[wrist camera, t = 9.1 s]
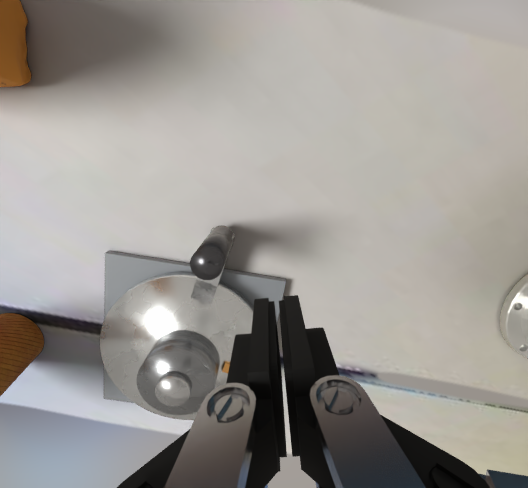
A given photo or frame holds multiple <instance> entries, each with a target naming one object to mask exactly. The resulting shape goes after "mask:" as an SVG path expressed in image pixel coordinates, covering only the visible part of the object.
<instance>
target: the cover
mask: <svg viewBox="0 0 528 488" xmlns="http://www.w3.org/2000/svg"><path fill="white" fill-rule="evenodd" d="M219 366H220V357H219V353H218V351H217V349H216V347H215V346H214V344H213V343H212V342H211V341H210V340H209V339H207V338H206V337H205V336H203V335H201V334H199V333H196V332H193V331H188V330H177V331H172V332H169V333H167V334H165V335H163V336H162V337H160V338H159V339H158V340H157V341H156V343H155V344H154V346H153V347H152V349H151V350H150V352H149V354H148V355H147V357H146V359H145V360H144V362H143V364H142V365H141V367H140V369H139V371H138V374H137V388H138V391H139V393H140V395H141V396H142V398H143V399H144V400H145V401H146V402H147V403H148V404H149V405H150V406H151V407H153V408H154V409H156V410H158V411H161V412H163V413H166V414H171V415H187V414H192V413H194V412H197V411H199V409H200V406H201V404H202V402H203V400H204V399H205V397H206V396H207V395H208V394H209V393H210V392H211V391H212V390H213V389H214V388H215V384H216V380H217V375H218V371H219Z"/></svg>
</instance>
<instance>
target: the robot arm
mask: <svg viewBox="0 0 528 488" xmlns="http://www.w3.org/2000/svg"><path fill="white" fill-rule="evenodd" d="M279 310H280V323H281V335H282V348H283V360H284V372H285V383H286V393H287V403H288V414H289V424H290V434H291V445H292V455H293V456H300V461H301V469H302V470H303V471H304V472H305V473H306V474H308V475H309V476H310V477H311V478H312V479H313V480H314V481H315V482H316V487H317V488H528V476H524V475H518V474H511V473H505V472H499V471H493V470H487V472H486V475H482V474H478V473H477V472H476V471H475V470H474V469H472V468H471V467H469V466H468V465H467V464H465V463H464V462H462V461H461V460H459V459H457V458H455V457H454V456H452V455H450V454H448V453H447V452H445V451H443V450H441V449H440V448H438V447H436V446H434V445H433V444H431V443H429V442H427V441H426V440H424V439H422V438H420V437H419V436H417V435H415V434H413V433H412V432H410V431H408V430H406V429H405V428H403V427H401V426H399V425H398V424H396V423H394V422H392V421H390V420H389V419H387V418H385V417H383V416H382V415H380V414H379V412H378V411H377V409H376V407H375V406H374V404H373V403H372V401H371V400H370V398H369V396H368V395H367V393H366V392H365V390H364V389H363V388H362V387H361V385H360V384H358V383H357V382H355V381H354V380H352V379H350V378H347V377H344V376H339V373H338V370H337V367H336V364H335V361H334V358H333V355H332V352H331V349H330V346H329V343H328V340H327V337H326V334H325V331H324V329H323V328H311V329H305V325H304V320H303V316H302V311H301V307H300V302H299V298H298V295H296V296H284V300H281V301H279ZM500 328H501V333H502V335H503V337H504V340H505V341H506V342H507V344H508V345H509V346H510V347H511V348H512V349H514V350H515V351H516V352H517V353H519V354H520V355H522V356H523V357H525V358H527V359H528V274H527V275H525V276H524V277H523V278H522V279H521V280H520V281H519V282H518V283H517V284H516V285H515V286H514V287H513V289H512V290H511V291H510V293H509V294H508V296H507V298H506V300H505V302H504V304H503V307H502V310H501V314H500ZM280 457H287V454H286V438H285V423H284V407H283V392H282V376H281V362H280V352H279V342H278V332H277V322H276V312H275V303H274V301H269V298H261V299H255V300H254V309H253V320H252V330H251V333H249V334H237V335H235V339H234V344H233V350H232V355H231V360H230V366H229V371H228V376H227V382H226V384H224V385H221V386H219V387H217V388H215V389H213V390H212V391H211V392H210V393H209V394H208V395H207V396H206V397H205V399H204V400H203V402H202V404H201V406H200V409H199V411H198V413H197V415H196V418H195V420H194V422H193V424H192V427H191V429H190V430H188V431H187V432H186V433H185V434H183V435H182V436H181V437H180V438H178V439H177V440H176V441H174V443H172V444H171V445H169V446H168V447H167V448H165V449H164V450H163V451H162V452H160V453H159V454H158V455H157V456H155V457H154V458H153V459H151V460H150V461H149V462H148V463H146V464H145V465H144V466H143V467H141V468H140V469H139V470H137V471H136V472H135V473H134V474H132V475H131V476H130V477H128V478H127V479H126V480H125V481H123V482H122V483H121V484H120V485H119V486H118V487H117V488H268V485H267V484H268V483H269V481H270V480H271V479H272V478H273V477H274V476H275V474H276V473H277V472H278V471H280Z"/></svg>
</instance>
